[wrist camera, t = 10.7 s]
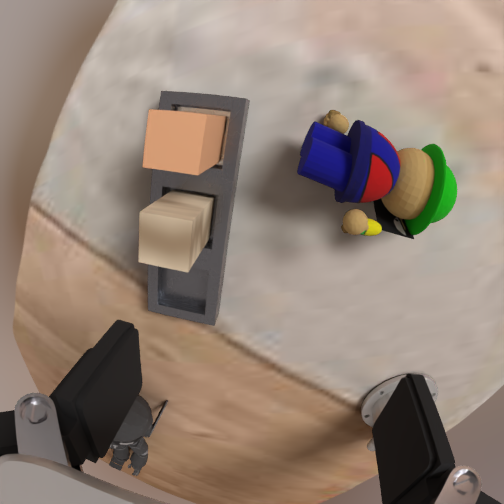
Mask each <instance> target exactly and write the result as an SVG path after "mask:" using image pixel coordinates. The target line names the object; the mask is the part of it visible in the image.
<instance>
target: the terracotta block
mask: <svg viewBox="0 0 504 504" xmlns="http://www.w3.org/2000/svg"><path fill="white" fill-rule="evenodd" d="M226 122H227V117H226V116H219V115H212V114H204V113H195V112H185V111H171V110H150V109H149V114H148V121H147V129H146V138H145V147H144V157H143V167H144V168H151V169H158V170H165V171H172V172H179V173H185V174H192V175H200V174H201V173H203V172H204V171H206V170H207V169H209V168H211V167H212V166H214V165H215V164H217V163H219V162H220V159H221V152H222V146H223V140H224V134H225V128H226Z"/></svg>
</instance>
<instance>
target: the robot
mask: <svg viewBox="0 0 504 504" xmlns="http://www.w3.org/2000/svg"><path fill="white" fill-rule="evenodd" d="M167 402H168V400H167V401H166V402H165V403H164V405H163V406H162V408H161V410H160V412H159V414H158V416H157V418H156V420H155V422H154V424H152V423H153V418H152V414H151V409H150V407H149V405H148V403H147V402H146V401H145V400H144V399H143V398H142V397H141V396H139V395H138V396H137V398H136V400H135V401H134V403H133V405H132V407H131V409H130V410H129V412H128V414H127V416H126V418H125V419H124V421H123V423H122V425H121V427H120V429H119V430H118V432H117V434H116V436H115V438H114V440H113V441H112V443H111V445H110V447H109V448H111V449H114V452H113V457H112V459H111V462H110V464H109V465H110V466H111V467H113V468H116V469H118V470H121V469H122V466H123V464H124V462H125V461H127V460H128V459H129V456H130V453H129V447H130V448H131V449H132V451H133V453H132V455H131V458H130V460H131V464H130V465H128V468H131V465H132V467H133V468H134V469H135V470H134V473H133V474H132V475H136V476H137V475H138V474H139V473H140V470H141V468H142V467H143V466H145V464H146V462H147V458H148V445H147V443H146V442H145V439H144V438H143V437H147V436H148V437H150V435H151V433H152V431H153V430H154V428H155V426H156V424H157V422H158V420H159V418H160V416H161V414H162V412H163V410H164V408H165V407H166V405H167ZM128 446H129V447H128ZM112 461H113V462H115V463H117V464H119V465H121V466H119V465H117V464H115V463H113V462H112Z"/></svg>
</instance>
